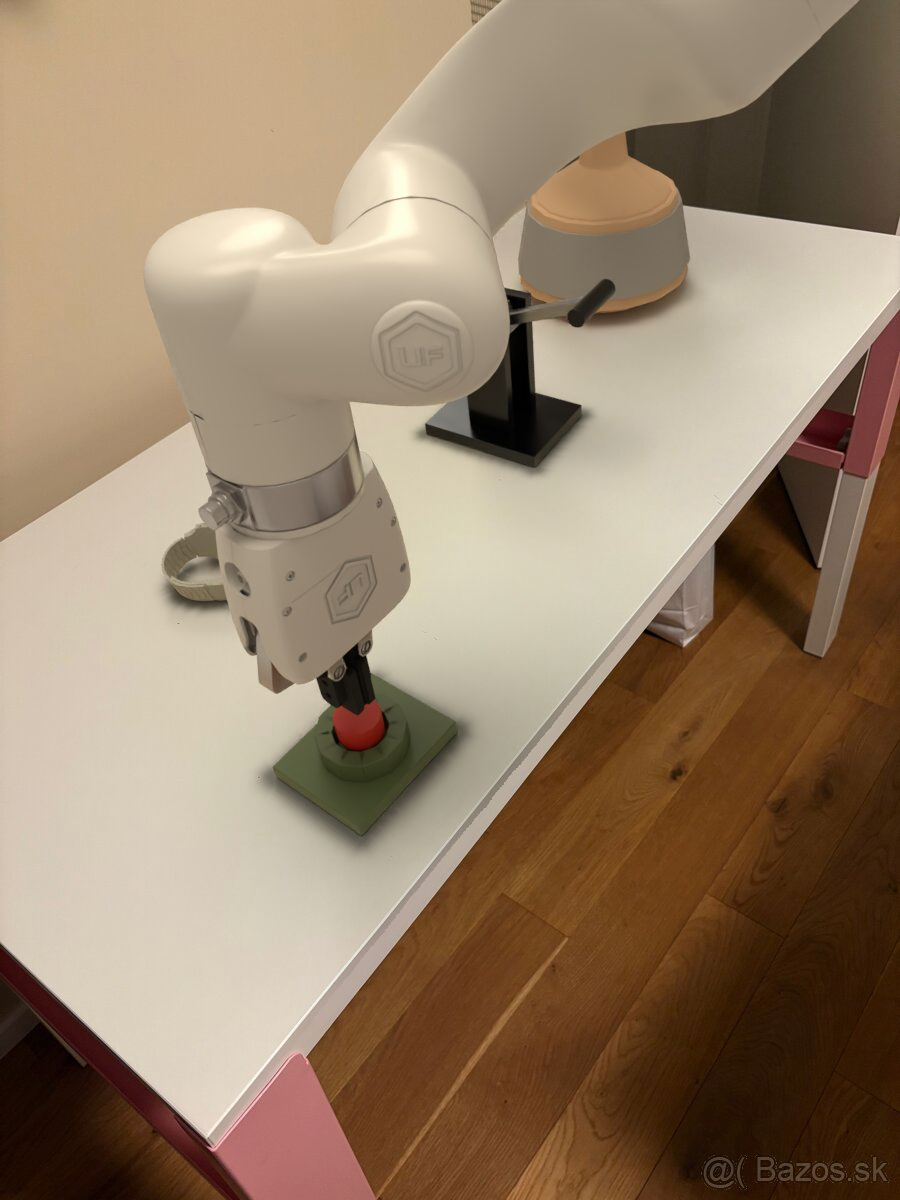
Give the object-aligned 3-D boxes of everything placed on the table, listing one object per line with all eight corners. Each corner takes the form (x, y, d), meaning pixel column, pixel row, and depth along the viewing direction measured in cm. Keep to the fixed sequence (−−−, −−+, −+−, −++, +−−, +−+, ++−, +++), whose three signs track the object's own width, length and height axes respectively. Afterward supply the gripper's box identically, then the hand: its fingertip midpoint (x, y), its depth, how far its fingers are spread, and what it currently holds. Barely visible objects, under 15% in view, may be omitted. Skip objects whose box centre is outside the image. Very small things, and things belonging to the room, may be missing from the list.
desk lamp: (479, 280, 112) (447, -101, 86) (606, 228, 118) (612, -142, 92) (596, 353, 98) (599, -74, 72) (733, 290, 104) (782, -124, 78)
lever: (619, 299, 78) (610, 272, 77) (588, 331, 75) (578, 303, 74) (504, 320, 86) (495, 295, 85) (472, 349, 83) (461, 324, 82)
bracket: (581, 415, 91) (581, 290, 81) (534, 467, 86) (528, 341, 77) (476, 386, 96) (464, 266, 87) (426, 434, 91) (408, 312, 82)
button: (359, 704, 65) (355, 688, 64) (394, 726, 63) (390, 709, 62) (327, 736, 63) (322, 720, 62) (362, 758, 62) (358, 742, 60)
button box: (372, 682, 70) (366, 655, 68) (457, 731, 66) (453, 705, 64) (275, 776, 65) (265, 751, 63) (361, 836, 61) (353, 811, 59)
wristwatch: (282, 548, 81) (268, 503, 78) (276, 600, 77) (261, 555, 73) (177, 560, 82) (159, 515, 78) (165, 612, 77) (145, 568, 74)
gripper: (227, 585, 42) (310, 810, 55) (437, 417, 50) (467, 649, 63) (124, 526, 46) (224, 749, 59) (335, 378, 53) (382, 605, 66)
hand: (349, 697), depth 61 cm, fingers closed
